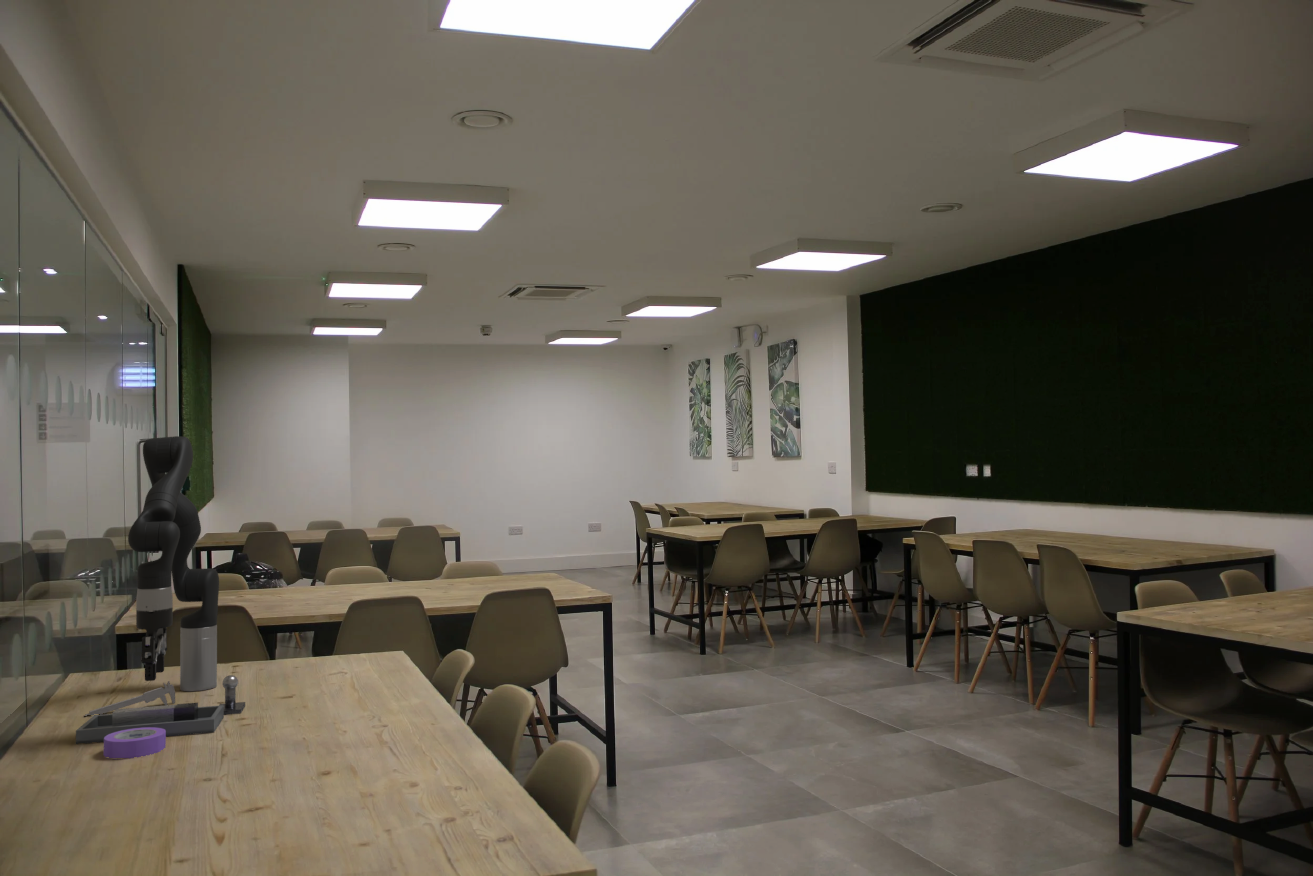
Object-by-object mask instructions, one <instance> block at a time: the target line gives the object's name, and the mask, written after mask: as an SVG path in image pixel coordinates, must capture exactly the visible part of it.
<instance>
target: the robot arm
mask: <svg viewBox="0 0 1313 876" xmlns="http://www.w3.org/2000/svg"><path fill="white" fill-rule="evenodd" d="M193 451H194V450H193V446H192V442H191V441H190V439H189V438H188V437H186V436H179V435H178V436H177V435H176V436H166V437H165V436H164V437H153V438H147V439H146V440H144V443H142V455H143V456H142V457H143V461H144V465H145V468H146V472H147V474H148V477H149V480H150V481H149V482H150V484H151V488H150V489H149V490H148V491H147V494H146V496H145V500H144V503H143V504H144V505H143V509H142V511H141V513H140V514H139V516H138V517H137V518H136V520H135V521H134V522H133V524H132V525H131V527H130V529H129V531H128V537H127V541H128V545H129V547H130V548H131V549H132V550H133V551H135V552H138V553H151V552H152V553H155V552H162V553H161V556H160V557H159V558H158V559H154V560H151V561H147V562H143V563H141V564H139V565H138V567H137V590H136V591H137V592H136V598H135V599H136V603H135V605H136V606H135V607H136V608H135V611H136V612H135V613H136V614H135V616H136V617H135V619H136V621H135V622H136V623H135V624H136V625H135V626H136V629H138V630H145V636H142V638H141V660H140V662H141V664H143V665H144V681H146V682H152V681H153V682H154V681H155V680H156V679H157V674H158V673H161V674H162V673H163V672H164V671H165V656H166V652H167V651H168V646H167V642H168V634H167V633H168V628H169V627H171V626H173V622H174V620H173V614H174V613H173V612H174V611H173V609H174V604H173V603H174V602H173V599H174V597H173V592H174V594H175V597H176V600H178V601H179V602H181V603H197V602H198V603H200V602H201V606H200V608H199V609H198V610H196V611H194V612H192V613H189V614H186V615H184V616H181V618H180V624H179V625H180V630H179V631H180V634H179V635H180V637H179V638H180V641H179V642H180V643H179V644H180V647H179V648H180V650H179V652H180V655H179V656H180V657H179V658H180V659H179V660H180V662H179V665H180V666H179V668H180V669H179V672H180V674H179V675H180V676H179V687H180V691H182V692H199V691H200V692H201V691H205V690H210V689H211V690H212V689H214V688H216V687H217V686H218V683H217V679H218V674H217V673H218V615H219V614H218V612H219V593H220V576H219V573H218V571H217V570H216V569H215V568H190V567H189V566H188V558H189V556H190V553H191V551H192V550H193V549H194V547H195V545H196V544H197V541H199V538H200V535H201V532H202V527H201V526H202V525H201V521H200V517H199V512H198V509H197V507H196V505H195V504H194V503H193V501H191V500H190V499H189V498H188V497H187V496H186V495H184V493H182V492H181V491H182V489H183V486H184V485H185V483H186V480H187V478H188V475H189V474H190V470H191V468H192V465H193V462H194V460H193V459H194V458H193V457H194V452H193ZM172 585H173V590H174V591H173V590H172Z"/></svg>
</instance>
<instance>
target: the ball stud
mask: <svg viewBox="0 0 1313 876" xmlns="http://www.w3.org/2000/svg"><path fill="white" fill-rule="evenodd" d="M238 684H239V679H238V677H237V676H235V675H232V674H230V675H226V676H225V677H224V678H223V680H222V687H223V688H224V703H219V704H218V706H219V705H224V715H236V714H238V715H239V714H242V712H243V711H244V709H245V707H246V701H239V702H236V700H237V699H236V688H237V686H238Z"/></svg>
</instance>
